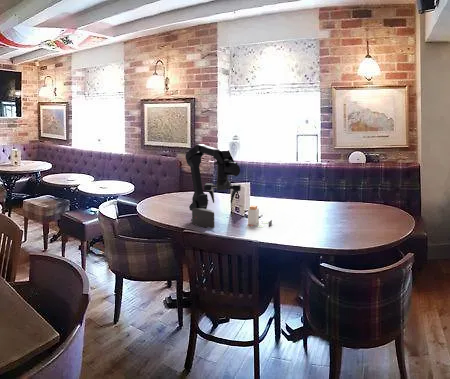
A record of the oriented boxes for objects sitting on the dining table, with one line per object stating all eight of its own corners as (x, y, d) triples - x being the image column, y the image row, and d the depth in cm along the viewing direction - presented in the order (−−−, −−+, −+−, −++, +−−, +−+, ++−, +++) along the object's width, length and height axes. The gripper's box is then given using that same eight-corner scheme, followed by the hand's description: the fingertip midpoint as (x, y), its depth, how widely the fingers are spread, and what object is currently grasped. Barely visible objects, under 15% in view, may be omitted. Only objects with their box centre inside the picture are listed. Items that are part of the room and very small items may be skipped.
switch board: (239, 227, 213) (239, 220, 212) (246, 222, 223) (246, 216, 222) (267, 230, 207) (267, 223, 206) (273, 225, 217) (273, 218, 216)
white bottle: (247, 224, 214) (247, 206, 213) (250, 222, 218) (250, 205, 217) (255, 224, 212) (255, 207, 211) (258, 222, 216) (258, 205, 215)
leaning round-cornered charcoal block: (218, 228, 212) (218, 210, 210) (212, 230, 208) (212, 212, 207) (197, 223, 223) (197, 206, 221) (191, 224, 219) (191, 208, 218)
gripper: (202, 175, 201) (202, 206, 204) (240, 176, 199) (239, 207, 202) (205, 172, 211) (205, 201, 214) (240, 173, 210) (240, 202, 213)
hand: (222, 203), depth 211 cm, fingers open, 9 cm apart
